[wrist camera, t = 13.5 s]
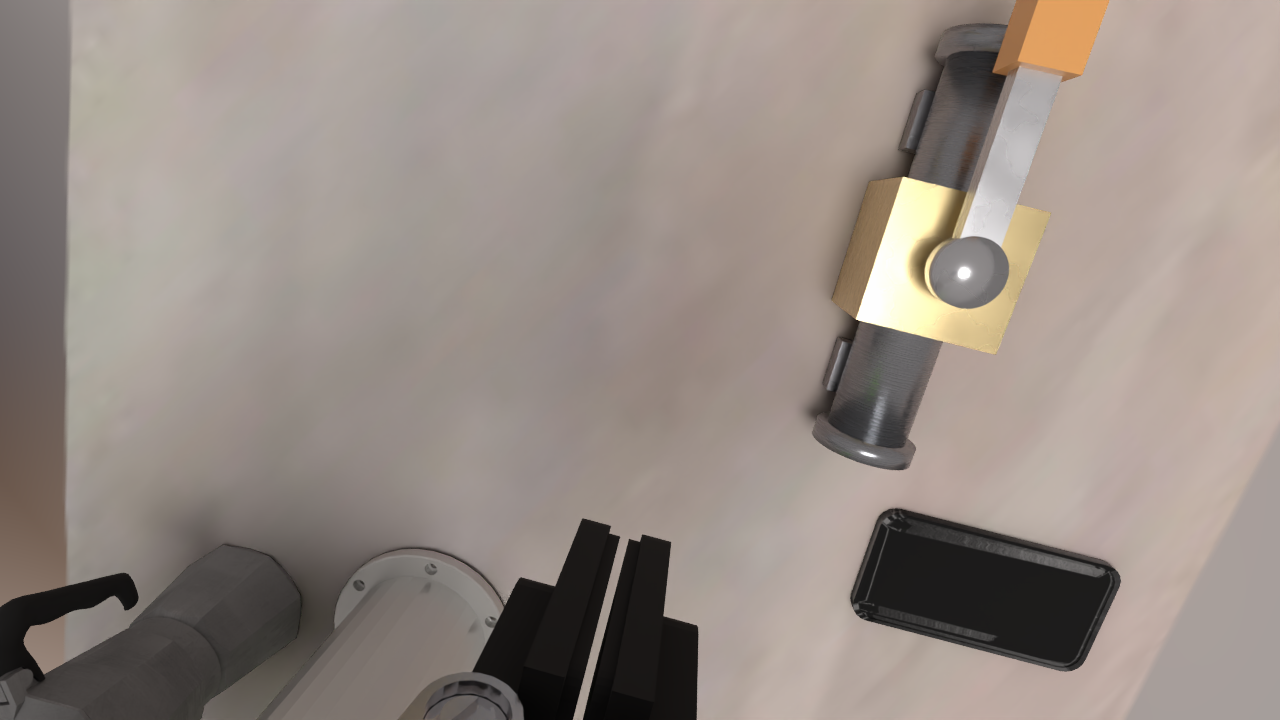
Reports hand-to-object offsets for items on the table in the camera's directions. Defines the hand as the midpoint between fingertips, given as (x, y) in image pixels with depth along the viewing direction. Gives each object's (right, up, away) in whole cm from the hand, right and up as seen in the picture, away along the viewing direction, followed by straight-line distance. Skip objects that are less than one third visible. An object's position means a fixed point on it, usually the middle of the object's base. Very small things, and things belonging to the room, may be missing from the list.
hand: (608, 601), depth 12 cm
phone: (+22, -10, +31) cm, 39 cm away
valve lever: (+17, +14, +18) cm, 28 cm away
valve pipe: (+16, +10, +26) cm, 32 cm away
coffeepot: (-28, -12, +36) cm, 48 cm away
